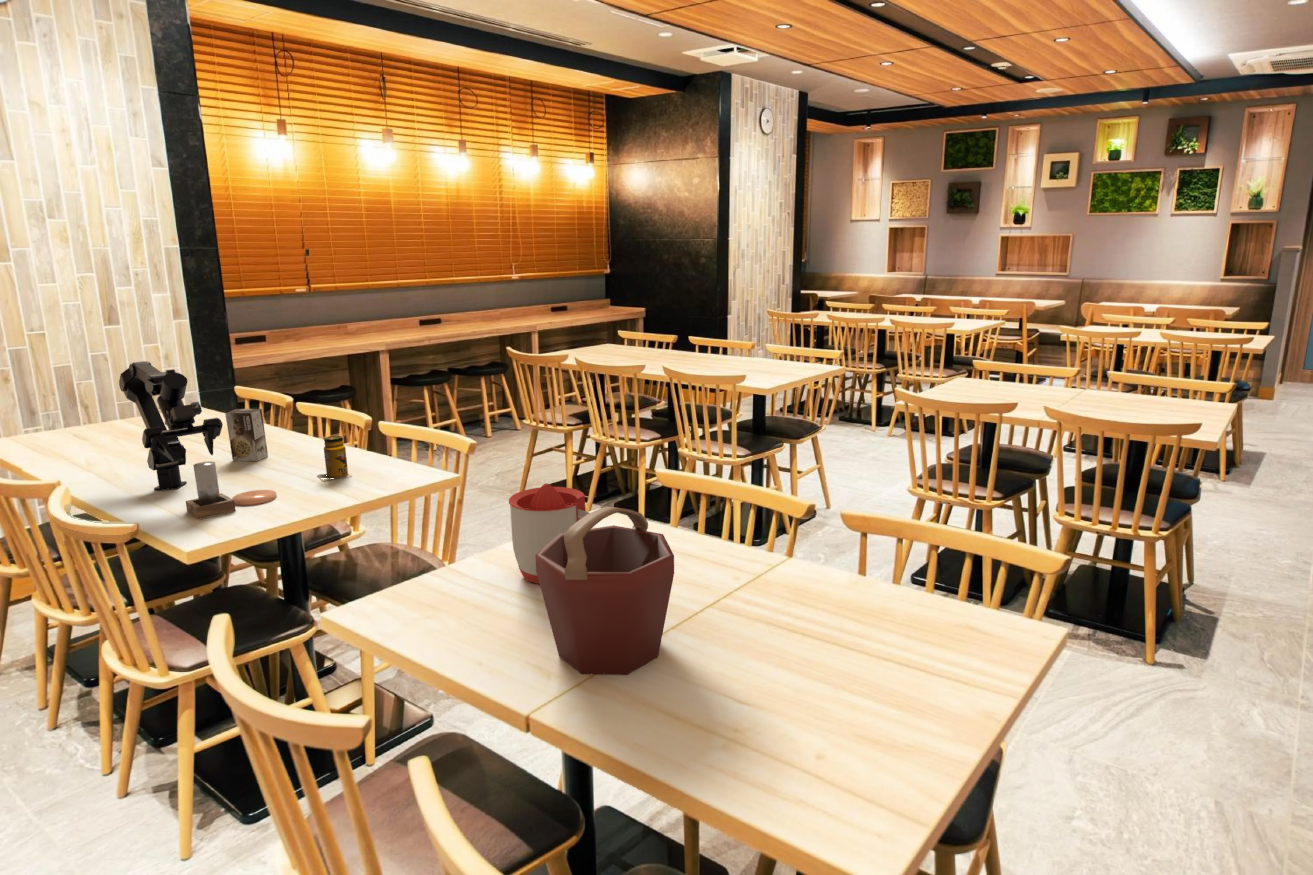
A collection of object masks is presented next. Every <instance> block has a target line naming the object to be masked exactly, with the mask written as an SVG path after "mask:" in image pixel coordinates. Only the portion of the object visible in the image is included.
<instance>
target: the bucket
mask: <svg viewBox="0 0 1313 875" xmlns="http://www.w3.org/2000/svg"><path fill="white" fill-rule="evenodd" d="M617 513H619V514H622V515H626V516H627V517H628V519H629V520H630V521H631V522H632V524H633V525H632V527H625V526H619V525H608V526H601V527H595V526H596V525H597V524H598V523H600V522H601V521H602V520H604V519H605V518H608V517H609V516H612V515H614V514H617ZM593 527H594V528H593ZM648 528H649V522H648V520H647V519H646V517H645V516H644V515H643V514H642V513H641V512H638V511H634V510H633V509H629V508H620V507H614V506H607V505H606V506H604V507H601V508H599V509H596V510H594V511H591V512H589V514H587V515H586V516H584V517H583V518H582V519H580V520H579V521H577V522H576V523H575V524H573V525H572V526H571V527H570V528H569V529H568V530H567V532H566V533H561V534H558V535H557V536H556V537H555V538H554V539H553V540H552V541H550V542H549V543H548V544H547V545H546V546H545V547H544V548H543V549H541V550H540V551H539V552H538V553H537V554H536V555H535V557H536V573H537V576H538V580H539V583H538V584H539V587H540V590H541V595H542V598H543V601H544V602H543V603H544V605H545V610H546V613H547V617H548V619H549V624H550V628H551V631H552V632H551V633H552V635H553V639H554V643H555V646H556V650H557V654H558V656H559V658H561V659H562V660H563V661H564V662H565V663H567V664H568V665H569V666H570V667H572V668H573V669H574V670H575V671H577V673H579V674H580V675H598V676H599V675H600V676H601V675H605V676H607V675H608V676H612V675H613V676H628V675H630V674H632V673H633V672H635V671H637V670H638V669H640V668H642V667H644V666H646V665H647V664H649V663H650V662H652V661H654V660H656V659H658V658H659V653H660V648H661V644H662V638H663V632H664V628H665V623H666V617H667V612H668V607H669V602H670V599H671V598H670V596H671V591H672V588H673V587H672V586H673V581H674V575H675V554H674V553H673V551H672V549H671V546H670V545H669V543H668V541H667V539H666V537H665V535H664V534H663V533H658V532H653V531H648Z"/></svg>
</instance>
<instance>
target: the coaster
mask: <svg viewBox="0 0 1313 875" xmlns="http://www.w3.org/2000/svg"><path fill="white" fill-rule="evenodd" d="M276 498H277V492H276V491H275V490H272V489H254V490H251V491H250V490H248V491H245V492H240V493H239V494H235V495H234V496H233V497H231V499H233V500H234V503H235V506H243V507H244V506H256V505H262V504H267V503H268V502H272V501H274V500H275V499H276ZM273 499H274V500H273ZM261 503H262V504H261Z"/></svg>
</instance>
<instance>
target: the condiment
mask: <svg viewBox="0 0 1313 875" xmlns="http://www.w3.org/2000/svg"><path fill="white" fill-rule="evenodd" d="M323 441H324V447H323V452H324V454H323V455H324V462H325V472H326V473H324V474H323V473H322V474H317V477H318V478H319V479H320V478H340V479H345V478H351V477H352V474H350V473H349V470H348V460H347V452H346V446H345V444H344V437H343V436H342V435H331V436H327V437H324V439H323ZM326 475H327V476H326ZM320 480H321V481H322V482H324V481H326V482H327V481H331V479H324V480H323V479H320Z"/></svg>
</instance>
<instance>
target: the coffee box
mask: <svg viewBox="0 0 1313 875" xmlns="http://www.w3.org/2000/svg"><path fill="white" fill-rule="evenodd" d="M224 415H225V421H226V426H227V435H228V440H229V445H230V453H231V458H232V459H231V460H232V462H260V461H261V460H263V459H266V458H268V457H269V453H268V446H267V440H266V439H267V438H266V433H265V425H264V424H265V423H264V418H263V409H262V408H235V409H233V410H230V411H228V412H225V414H224Z"/></svg>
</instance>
